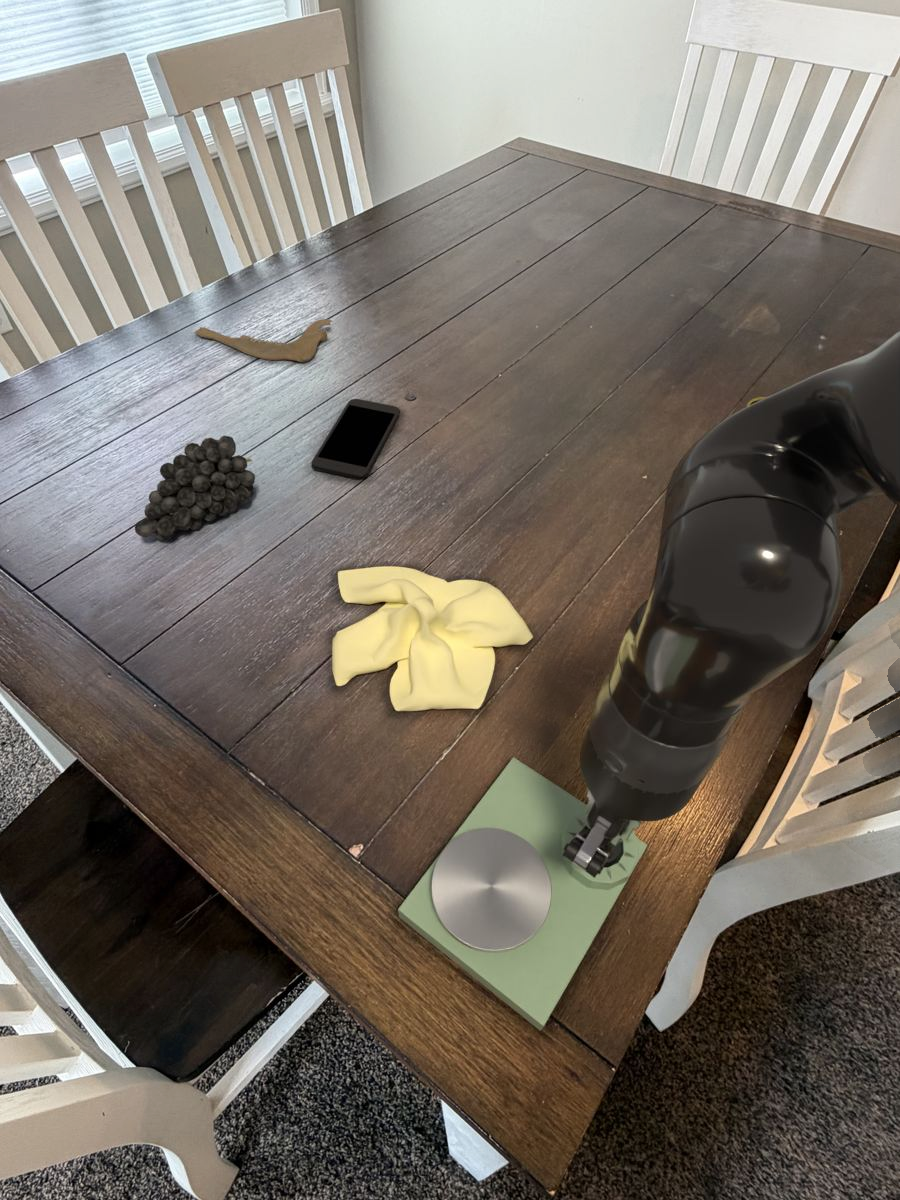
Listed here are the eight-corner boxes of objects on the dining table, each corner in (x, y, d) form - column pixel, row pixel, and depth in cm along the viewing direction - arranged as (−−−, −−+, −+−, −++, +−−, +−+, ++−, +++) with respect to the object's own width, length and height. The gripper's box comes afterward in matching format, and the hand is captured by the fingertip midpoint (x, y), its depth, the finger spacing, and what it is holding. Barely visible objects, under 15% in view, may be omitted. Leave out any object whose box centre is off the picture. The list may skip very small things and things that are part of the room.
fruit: (127, 498, 73) (248, 429, 80) (95, 482, 78) (211, 418, 85) (167, 567, 78) (277, 496, 85) (134, 547, 84) (241, 482, 91)
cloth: (549, 607, 77) (557, 568, 72) (476, 748, 66) (479, 713, 61) (366, 538, 83) (362, 498, 78) (271, 657, 72) (260, 619, 67)
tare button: (590, 825, 60) (593, 817, 58) (623, 847, 58) (627, 839, 57) (571, 854, 58) (575, 847, 57) (605, 877, 57) (609, 870, 56)
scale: (511, 766, 65) (515, 747, 62) (642, 853, 60) (652, 836, 58) (398, 916, 57) (396, 902, 54) (540, 1031, 52) (546, 1021, 49)
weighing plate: (476, 809, 59) (476, 805, 58) (573, 876, 56) (574, 873, 55) (406, 901, 54) (406, 898, 54) (507, 981, 51) (508, 979, 50)
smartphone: (403, 411, 98) (402, 405, 98) (365, 481, 89) (365, 476, 88) (351, 401, 99) (350, 396, 99) (308, 470, 90) (308, 465, 89)
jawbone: (333, 366, 106) (331, 354, 104) (189, 373, 104) (185, 361, 103) (333, 328, 111) (331, 316, 109) (195, 334, 109) (192, 322, 108)
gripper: (661, 857, 39) (601, 947, 52) (754, 690, 46) (680, 806, 59) (541, 779, 42) (513, 883, 55) (646, 632, 49) (598, 756, 62)
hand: (600, 843), depth 57 cm, fingers closed
